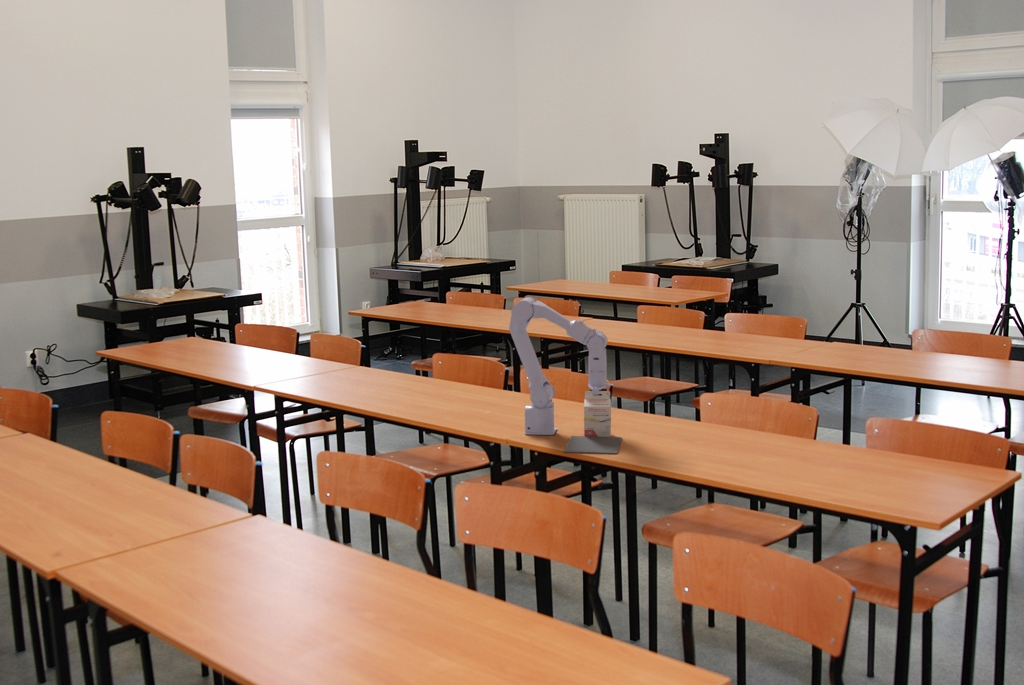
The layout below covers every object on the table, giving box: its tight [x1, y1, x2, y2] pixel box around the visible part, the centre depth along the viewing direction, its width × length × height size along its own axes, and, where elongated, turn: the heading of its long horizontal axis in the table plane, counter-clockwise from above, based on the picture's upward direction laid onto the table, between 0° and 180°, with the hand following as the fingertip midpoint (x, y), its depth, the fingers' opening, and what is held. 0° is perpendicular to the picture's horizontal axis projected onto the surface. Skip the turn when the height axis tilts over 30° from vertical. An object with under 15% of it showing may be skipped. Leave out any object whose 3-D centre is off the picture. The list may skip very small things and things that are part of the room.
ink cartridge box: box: [583, 390, 612, 437], centre depth 311 cm, size 9×5×15 cm, turn 84°
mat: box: [563, 435, 623, 455], centre depth 303 cm, size 16×18×1 cm
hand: (597, 412), depth 315 cm, fingers closed
